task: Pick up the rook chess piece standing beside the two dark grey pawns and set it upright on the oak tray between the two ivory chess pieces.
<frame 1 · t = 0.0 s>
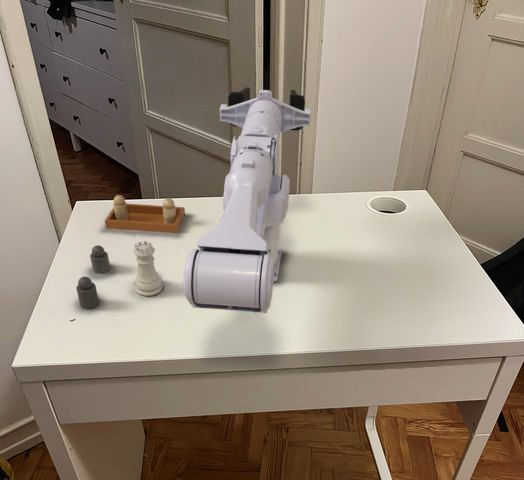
hand: (270, 94, 97), 22 cm above the table, tool horizontal, fingers open, 7 cm apart
ivory piece a: (170, 222, 105), resting on oak tray
oak tray: (146, 223, 106), on the table
grey pawn a: (102, 271, 94), on the table
ivory piece b: (122, 219, 106), resting on oak tray
rook chess piece: (149, 290, 90), on the table
grey pawn b: (89, 304, 87), on the table
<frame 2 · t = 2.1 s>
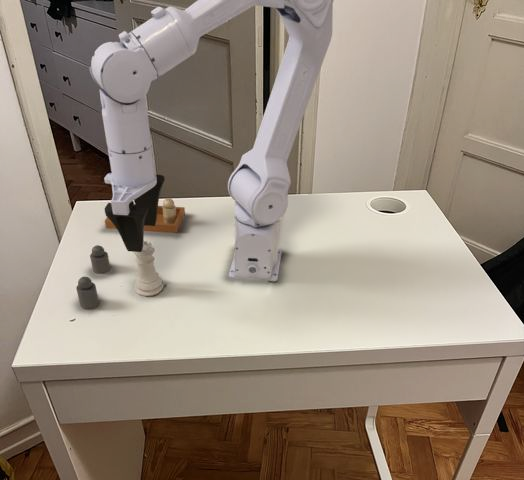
hand: (142, 237, 84), 9 cm above the table, tool pointing down, fingers open, 7 cm apart
nothing on the table moved.
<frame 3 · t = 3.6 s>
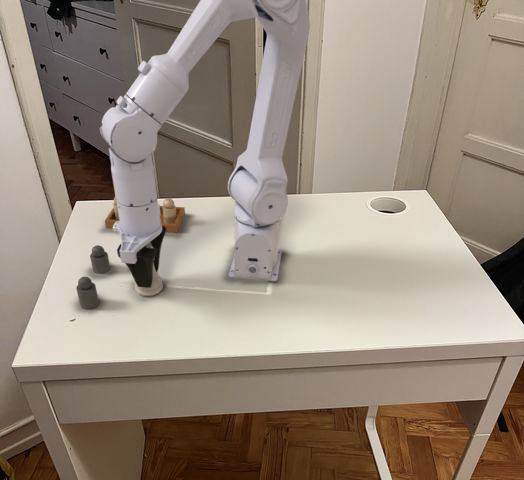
hand: (147, 278, 89), 2 cm above the table, tool pointing down, fingers closed on rook chess piece, 3 cm apart
rook chess piece: (149, 290, 90), on the table, touching gripper
everything else where it was.
when the fingers open (2 cm above the table, at t = 8.3 s): rook chess piece stays where it is, resting on oak tray.
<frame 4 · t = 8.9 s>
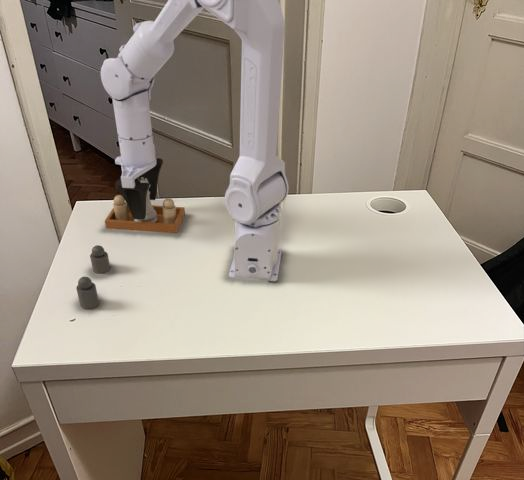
hand: (144, 208, 104), 3 cm above the table, tool pointing down, fingers open, 7 cm apart
rook chess piece: (146, 222, 106), resting on oak tray
everything else where it was.
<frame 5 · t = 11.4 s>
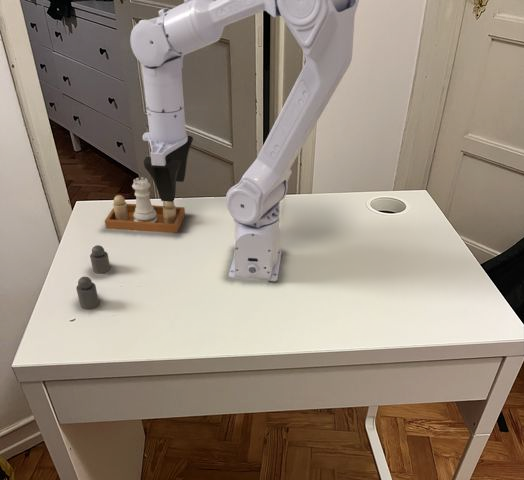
hand: (173, 190, 96), 9 cm above the table, tool pointing down, fingers open, 7 cm apart
nothing on the table moved.
at the end: rook chess piece 0.1 cm off-centre in the oak tray, point 0.3 cm above the oak tray's base; rook chess piece tilted 0°; the gripper is holding nothing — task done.
